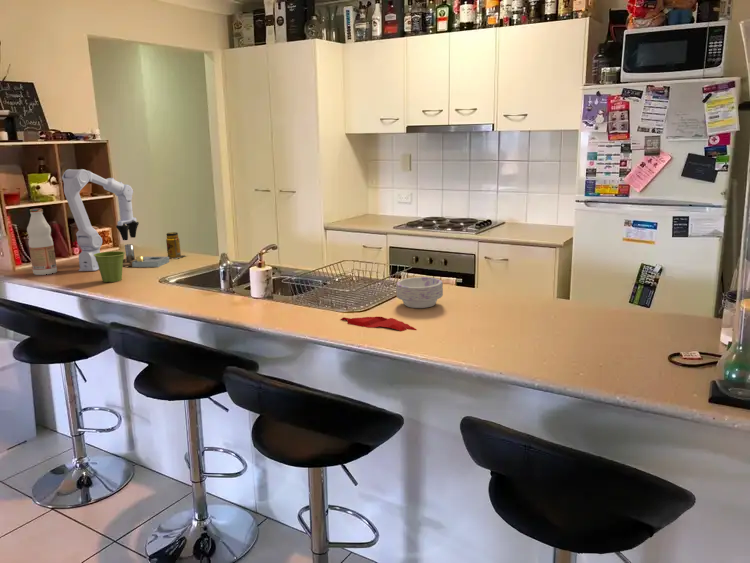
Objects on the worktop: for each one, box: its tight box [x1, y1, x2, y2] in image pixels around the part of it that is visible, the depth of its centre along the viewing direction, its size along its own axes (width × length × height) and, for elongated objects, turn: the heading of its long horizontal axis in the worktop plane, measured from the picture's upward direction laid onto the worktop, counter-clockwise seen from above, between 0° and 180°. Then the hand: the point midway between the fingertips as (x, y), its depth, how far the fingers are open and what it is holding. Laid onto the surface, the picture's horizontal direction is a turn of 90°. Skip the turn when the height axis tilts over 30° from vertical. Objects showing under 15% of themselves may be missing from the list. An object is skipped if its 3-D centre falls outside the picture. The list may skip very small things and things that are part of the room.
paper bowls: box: [395, 276, 444, 309], centre depth 207 cm, size 15×15×8 cm
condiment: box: [165, 231, 187, 260], centre depth 303 cm, size 7×8×12 cm
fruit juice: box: [26, 208, 58, 276], centre depth 271 cm, size 9×9×28 cm
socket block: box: [132, 256, 170, 268], centre depth 287 cm, size 12×12×2 cm
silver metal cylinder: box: [124, 243, 136, 263], centre depth 289 cm, size 4×4×8 cm
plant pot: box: [94, 250, 126, 283], centre depth 255 cm, size 12×12×11 cm
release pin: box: [135, 255, 144, 261], centre depth 284 cm, size 3×3×4 cm
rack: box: [122, 258, 137, 268], centre depth 289 cm, size 12×7×2 cm, turn 174°
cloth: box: [339, 315, 418, 332], centre depth 187 cm, size 26×14×2 cm, turn 50°
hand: (129, 238), depth 298 cm, fingers open, 7 cm apart
